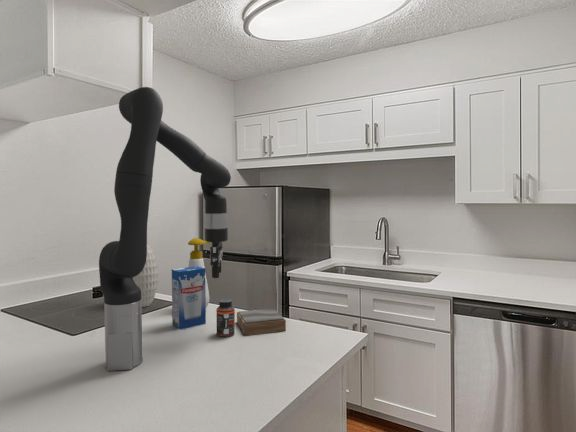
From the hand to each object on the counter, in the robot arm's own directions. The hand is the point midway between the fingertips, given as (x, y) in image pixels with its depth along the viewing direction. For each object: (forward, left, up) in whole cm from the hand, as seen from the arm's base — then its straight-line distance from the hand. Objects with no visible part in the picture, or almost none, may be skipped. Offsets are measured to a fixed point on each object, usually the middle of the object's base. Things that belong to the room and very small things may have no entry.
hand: (216, 275), depth 126 cm
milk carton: (+9, +10, -19) cm, 24 cm away
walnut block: (+3, -15, -19) cm, 24 cm away
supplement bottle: (-3, -3, -19) cm, 20 cm away
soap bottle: (+27, +8, -19) cm, 34 cm away
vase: (+37, +32, -19) cm, 53 cm away
